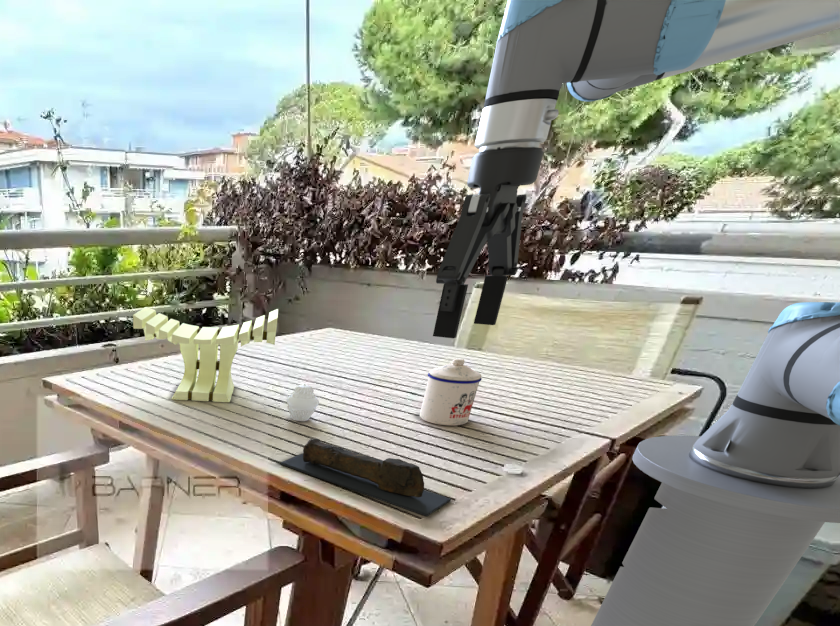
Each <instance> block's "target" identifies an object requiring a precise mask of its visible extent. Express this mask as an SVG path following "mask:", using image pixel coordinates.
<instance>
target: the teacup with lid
mask: <svg viewBox="0 0 840 626" xmlns="http://www.w3.org/2000/svg"><path fill="white" fill-rule="evenodd" d="M427 376H428V378H427V381H426V382H427V383H426V387H425V390H424V395H423V399H422V403H421V406H420V411H419V412H420V413H419V418H421V419H422V420H423V421H425V422H428V423H431V424H435V425H440V426H449V427H451V426H453V427H455V426H463V425H465V424H467V423H468V422H469V418H470V416H471V412H472V409H473V405H474V402H475V399H476V395H477V391H478V388H479V384H480V382H481V381H482V379H483V378H482V374H481V373H480V372H479V371H476V370H473V369H472V368H471V367H470V366H468V365H467V364H465V359H463V358H453V359H452V361H451V362H450V363H447V364H444V365H442V366H439V367H434V368H432V369H430V371H429V372H428V373H427Z"/></svg>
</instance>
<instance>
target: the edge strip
mask: <svg viewBox="0 0 840 626" xmlns="http://www.w3.org/2000/svg"><path fill="white" fill-rule="evenodd" d="M280 465H281V466H284V467H287V468H290V469H292V470H295V471H297V472H301V473H303V474H307V475H308V476H313V477H315V478H317V479H320V480H323V481H327V482H330V483H332V484H335V485H337V486H340V487H343V488H346V489H349V490H352V491H354V492H357V493H360V494H364V495H366V496H368V497H372V498H374V499H377V500H379V501H383V502H386V503H388V504H391V505H393V506H397V507H399V508H401V509H405V510H408V511H411V512H414V513H417V514H419V515H422V516H425V517H428V516H430V515H431V514H432V513H434V512H436V511H437V510H439V509H440V508H442V507H443V506H445V505H446V504H448V503H449V502H451V500H452V498H450V497H447V496H445V495H441V494H438V493H435V492H432V491H429V490H426V489H424V490H423V494H422V496H421V497H414V496H407V495H401V494H397V493H391V492H387V491H384V490H381V489H379V487H378V484H376V483H374V482H371V481H369V480H367V479H363V478H360V477H357V476H354V475H351V474H348V473H345V472H341V471H339V470H336V469H333V468H330V467H327V466H323V465H320V464H317V463H315V464H312V463H311V462H304V460H303V452H302V453H300V454H298V455H295V456H293V457H290V458H288V459H286V460H282V461H281V462H280Z"/></svg>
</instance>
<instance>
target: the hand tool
mask: <svg viewBox="0 0 840 626" xmlns="http://www.w3.org/2000/svg"><path fill="white" fill-rule="evenodd" d="M302 453H303V460H304V462H311V463H312V464H315V463H317V464H320V465H323V466H327V467H330V468H333V469H336V470H339V471H341V472H345V473H348V474H351V475H354V476H357V477H360V478H363V479H367V480H369V481H371V482H374V483H376V484H378V487H379V489H381V490H384V491H387V492H391V493H397V494H401V495H407V496H414V497H421V496H422V494H423V490H425V481H424V474H423V473H422V471H421V468H420V466H419V465H416V464H414V463H412V462H411V463H410V462H409V461H408V462H407V461H405V460H403V459H399V458H394V457H393V458H391V457H387V458H385V459H384V460H383V459H379V458H375V457H371V456H368V455H365V454H362V453H359V452H355V451H350V450H347V449H344V448H343V447H340V446H336V445H332V444H329V443H326V442H322V441H321V440H320V439H319V438H310V439H309V440H308V441H307V443H305V445H304V446H303V449H302Z"/></svg>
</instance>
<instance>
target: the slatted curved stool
mask: <svg viewBox="0 0 840 626" xmlns="http://www.w3.org/2000/svg"><path fill="white" fill-rule="evenodd" d="M265 318H266V315H265V314H263V315H261V316H258V317H256V318H255V321H254V325H252V323H253V319H250V320H248V321H245V322H244V321H243V324H242V325H241V328H240V324H234V325H227V326H222V328H220V326H217V327H216V326H215V327H214V326H211V327H210V326H202V328H200V326H198V325H193V324H188V323H185V322H183V323H181V324H180V321H179V320H177V319H174V318H170V319H169V317H168V315H165V314H164V313H160V312H159V313H157V310H156V309H154V308H151V307H150V306H145V307H143V308H141V309H140V310H138V311H137V312H135V313H134V314H132V324H133V325H132V327H133V330H134V329H135V330H137V329H138V330H143V334H144V340H145V342H147V341H152V340H154V339H156V340H167V341H168V342H170V343H171V344H174V345H176V346H177V345H179V352H180V354H181V357H182V360H183V365H184V366H183V367H184V371H183V372H184V373H183V376H182V379H181V380H180V383H179V385H178V386H177V388H176V389H175V392H174V393H173V395H172V397H171V400H174V401H175V400H177V401H178V400H180V401H188V400H191V401H197V402H200V401H201V402H209V401H212V402H213V403H214V402H215V403H230V402H231V399H232V396H233V393H234V389H235V384H234V381H233V377H232V364H233V361H234V359H235V356H236V355H237V351H238V348H239V342H240V347H243V346H244V345H247V344H250V342H251V341H252V340H253V343H263V341H266V344H270V345H273V346H275V345H276V335H277V328H278V318H279V308H276V309H274V310H271V311H270V312H268V318H267V327H266V329H265ZM252 327H253V329H252ZM218 353H219V359H218ZM217 371H218V375H217Z"/></svg>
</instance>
